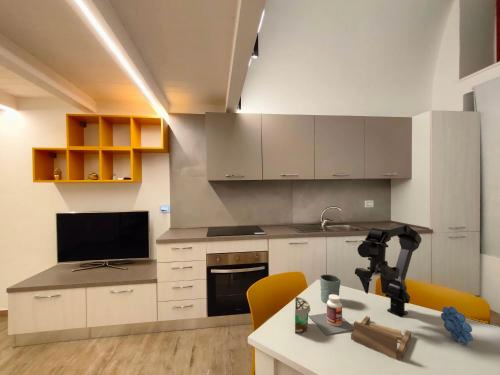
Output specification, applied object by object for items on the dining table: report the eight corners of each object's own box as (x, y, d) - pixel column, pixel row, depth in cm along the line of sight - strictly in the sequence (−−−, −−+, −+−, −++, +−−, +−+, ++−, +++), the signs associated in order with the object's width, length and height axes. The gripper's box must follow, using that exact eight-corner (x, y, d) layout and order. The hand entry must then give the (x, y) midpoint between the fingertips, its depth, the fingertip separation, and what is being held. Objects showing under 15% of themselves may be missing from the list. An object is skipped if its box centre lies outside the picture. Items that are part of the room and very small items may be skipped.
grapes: (432, 331, 96) (432, 302, 96) (446, 330, 97) (446, 300, 97) (462, 351, 85) (462, 317, 85) (477, 349, 86) (477, 315, 86)
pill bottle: (338, 328, 97) (338, 301, 97) (324, 322, 101) (324, 296, 101) (344, 322, 102) (344, 296, 102) (330, 317, 106) (330, 292, 106)
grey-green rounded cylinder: (323, 294, 129) (323, 272, 129) (342, 300, 123) (343, 276, 123) (317, 301, 121) (317, 278, 121) (337, 307, 115) (337, 283, 115)
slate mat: (335, 312, 111) (335, 311, 111) (356, 329, 97) (356, 328, 97) (308, 316, 107) (308, 315, 107) (326, 335, 93) (326, 334, 93)
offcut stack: (368, 327, 100) (368, 321, 100) (402, 337, 93) (402, 331, 93) (366, 334, 95) (366, 328, 95) (402, 345, 88) (402, 339, 88)
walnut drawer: (366, 320, 104) (366, 304, 104) (411, 336, 93) (411, 318, 93) (350, 339, 91) (350, 321, 91) (400, 361, 79) (400, 340, 79)
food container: (311, 337, 92) (311, 311, 92) (294, 335, 93) (295, 310, 93) (309, 320, 104) (309, 297, 104) (295, 318, 105) (295, 296, 105)
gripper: (375, 261, 94) (372, 301, 93) (411, 262, 99) (408, 300, 98) (355, 254, 104) (352, 290, 103) (388, 256, 110) (386, 290, 109)
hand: (375, 293), depth 103 cm, fingers open, 9 cm apart
